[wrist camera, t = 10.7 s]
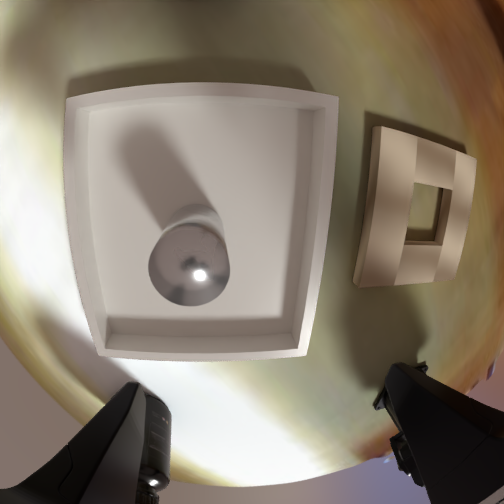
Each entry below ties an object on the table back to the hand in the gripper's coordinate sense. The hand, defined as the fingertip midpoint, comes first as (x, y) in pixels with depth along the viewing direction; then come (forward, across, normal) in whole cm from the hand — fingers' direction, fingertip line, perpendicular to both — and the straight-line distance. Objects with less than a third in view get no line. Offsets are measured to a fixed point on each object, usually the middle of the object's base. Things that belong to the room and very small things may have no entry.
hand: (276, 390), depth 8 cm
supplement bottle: (+12, +10, +17) cm, 23 cm away
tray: (+11, +3, -2) cm, 12 cm away
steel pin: (+11, +3, -2) cm, 12 cm away
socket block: (+12, -15, -4) cm, 19 cm away
